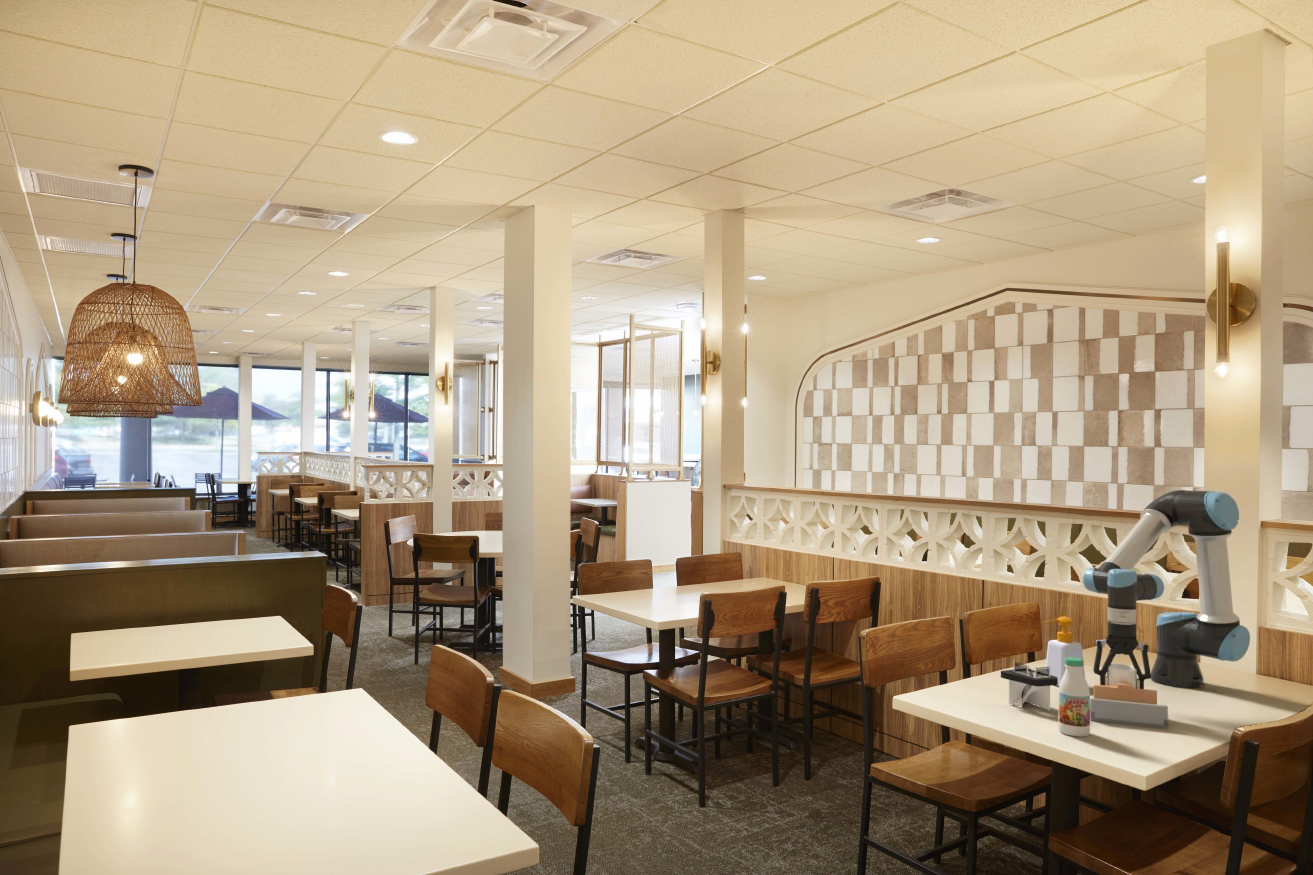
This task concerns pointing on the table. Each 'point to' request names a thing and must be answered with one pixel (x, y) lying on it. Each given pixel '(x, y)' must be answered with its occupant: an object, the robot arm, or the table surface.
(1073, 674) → the milk bottle
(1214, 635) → the robot arm
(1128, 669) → the white cup
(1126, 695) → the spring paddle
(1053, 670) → the soap bottle
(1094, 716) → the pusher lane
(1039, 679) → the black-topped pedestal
